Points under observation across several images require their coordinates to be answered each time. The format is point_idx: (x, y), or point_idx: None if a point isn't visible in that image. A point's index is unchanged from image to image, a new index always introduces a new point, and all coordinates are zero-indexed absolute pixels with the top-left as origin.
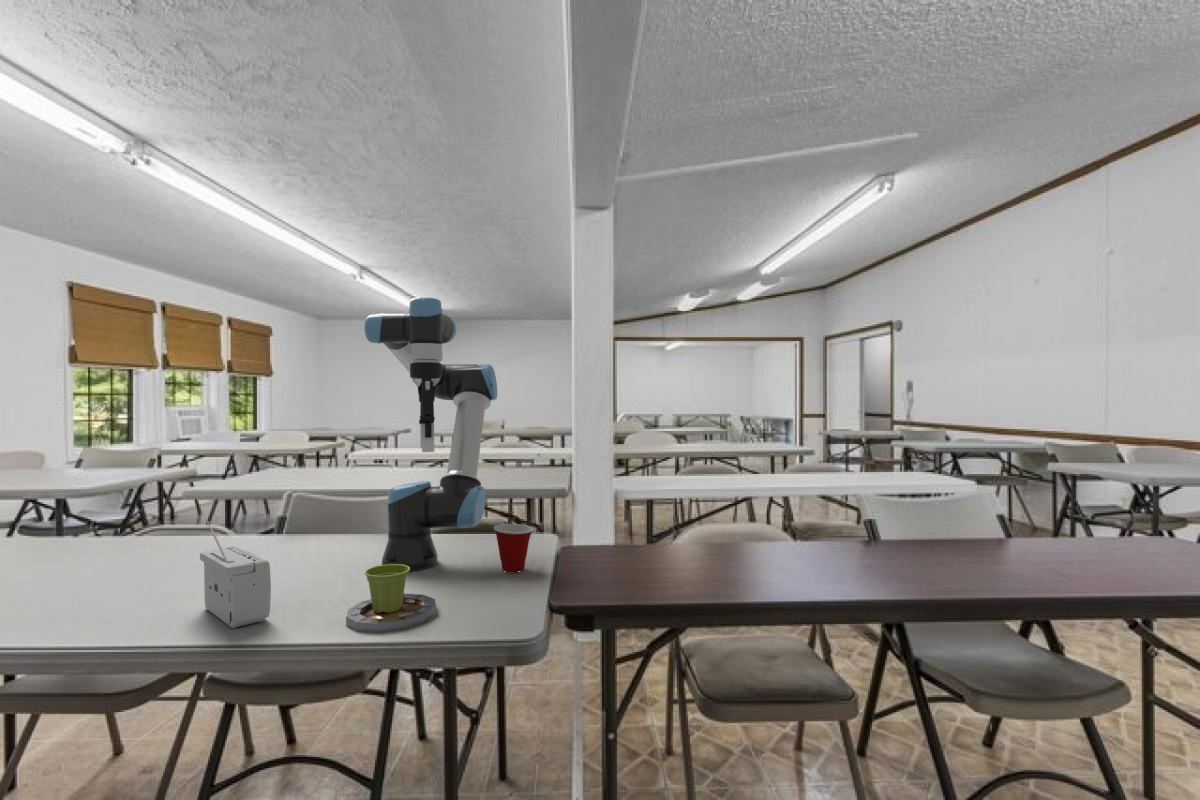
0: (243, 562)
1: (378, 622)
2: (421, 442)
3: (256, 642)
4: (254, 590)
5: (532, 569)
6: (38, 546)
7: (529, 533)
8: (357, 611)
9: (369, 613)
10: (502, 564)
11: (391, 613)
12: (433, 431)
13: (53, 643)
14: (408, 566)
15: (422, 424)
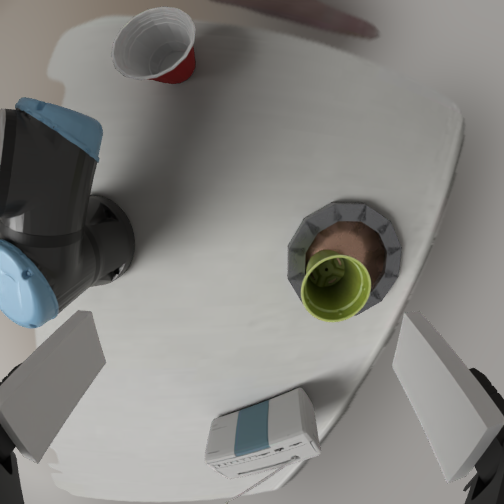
0: (304, 449)
1: (393, 277)
2: (92, 376)
3: (358, 379)
4: (311, 418)
5: None
6: (57, 486)
7: (180, 15)
8: None
9: None
10: (178, 81)
11: None
12: (476, 385)
13: (283, 478)
14: (328, 257)
15: (466, 472)
